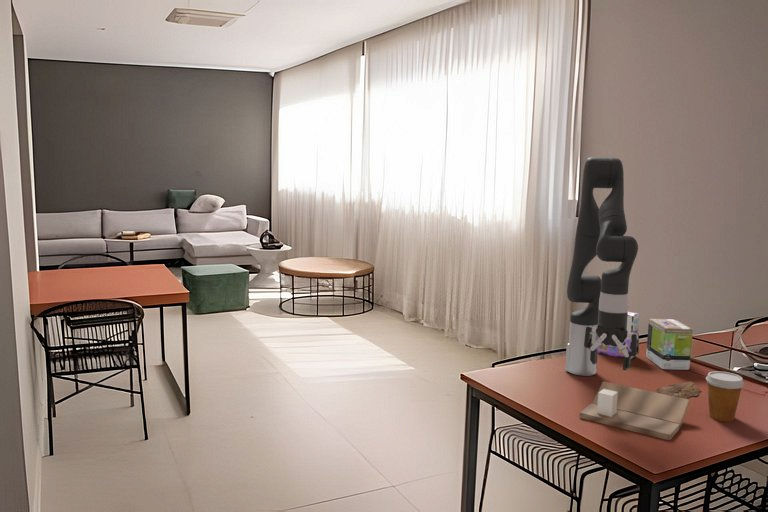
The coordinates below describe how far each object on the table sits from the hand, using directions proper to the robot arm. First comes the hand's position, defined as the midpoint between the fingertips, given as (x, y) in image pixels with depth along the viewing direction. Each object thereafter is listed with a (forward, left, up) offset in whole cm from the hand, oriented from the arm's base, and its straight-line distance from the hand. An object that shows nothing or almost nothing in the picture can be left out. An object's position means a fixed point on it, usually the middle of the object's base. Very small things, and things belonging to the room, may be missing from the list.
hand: (609, 366), depth 184 cm
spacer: (0, 0, -13) cm, 13 cm away
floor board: (+6, 0, -15) cm, 16 cm away
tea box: (-1, +65, -15) cm, 66 cm away
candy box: (-19, +64, -15) cm, 68 cm away
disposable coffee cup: (+25, +22, -15) cm, 36 cm away
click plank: (+6, +10, -13) cm, 17 cm away
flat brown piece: (+10, +36, -16) cm, 40 cm away
